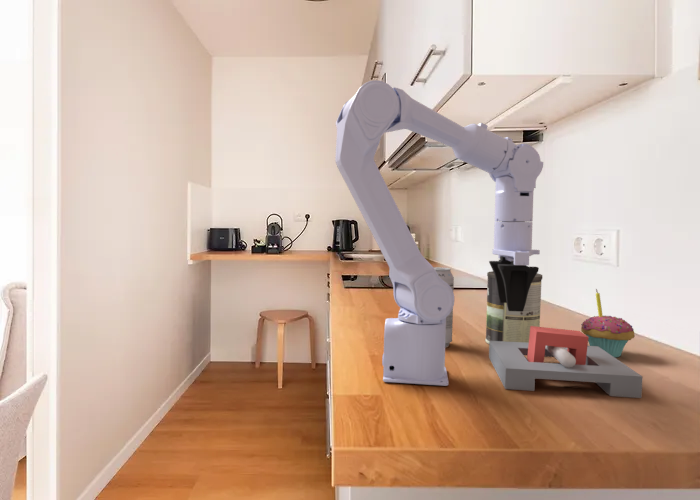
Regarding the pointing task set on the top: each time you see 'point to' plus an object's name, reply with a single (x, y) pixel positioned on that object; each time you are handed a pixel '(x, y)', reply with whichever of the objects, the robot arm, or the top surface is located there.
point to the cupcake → (607, 331)
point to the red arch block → (556, 343)
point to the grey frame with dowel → (563, 369)
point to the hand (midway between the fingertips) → (510, 306)
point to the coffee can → (512, 314)
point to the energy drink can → (448, 278)
